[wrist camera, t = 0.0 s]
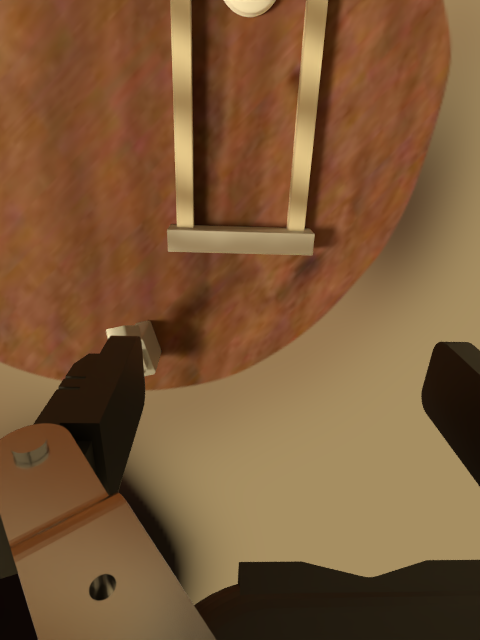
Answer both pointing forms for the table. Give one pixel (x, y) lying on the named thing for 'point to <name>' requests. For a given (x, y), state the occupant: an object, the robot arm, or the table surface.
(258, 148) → the table surface
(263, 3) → the chess piece
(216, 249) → the track
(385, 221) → the table surface
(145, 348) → the lighter
